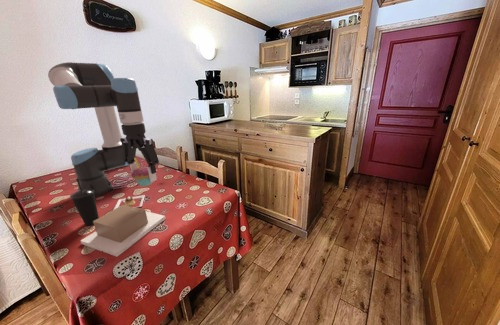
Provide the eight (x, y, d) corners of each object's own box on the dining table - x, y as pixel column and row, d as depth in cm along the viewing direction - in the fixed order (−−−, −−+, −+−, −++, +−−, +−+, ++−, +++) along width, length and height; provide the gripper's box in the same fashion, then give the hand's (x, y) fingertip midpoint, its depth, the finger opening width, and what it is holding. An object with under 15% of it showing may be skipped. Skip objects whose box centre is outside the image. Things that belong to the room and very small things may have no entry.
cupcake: (134, 190, 78) (127, 160, 74) (134, 182, 85) (127, 154, 81) (158, 184, 82) (152, 156, 78) (156, 177, 89) (150, 151, 85)
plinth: (81, 243, 73) (75, 226, 70) (134, 211, 92) (130, 196, 90) (117, 256, 67) (111, 238, 64) (165, 218, 86) (162, 203, 83)
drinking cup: (88, 217, 88) (74, 175, 82) (107, 216, 89) (93, 174, 82) (76, 228, 81) (58, 183, 75) (96, 227, 82) (80, 182, 75)
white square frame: (119, 201, 102) (116, 192, 101) (145, 196, 106) (143, 188, 104) (113, 213, 92) (110, 204, 90) (142, 208, 95) (140, 199, 94)
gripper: (102, 124, 75) (117, 180, 83) (146, 125, 68) (158, 186, 76) (120, 121, 82) (133, 173, 89) (162, 122, 75) (172, 178, 83)
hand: (145, 179), depth 83 cm, fingers closed on cupcake, 8 cm apart
